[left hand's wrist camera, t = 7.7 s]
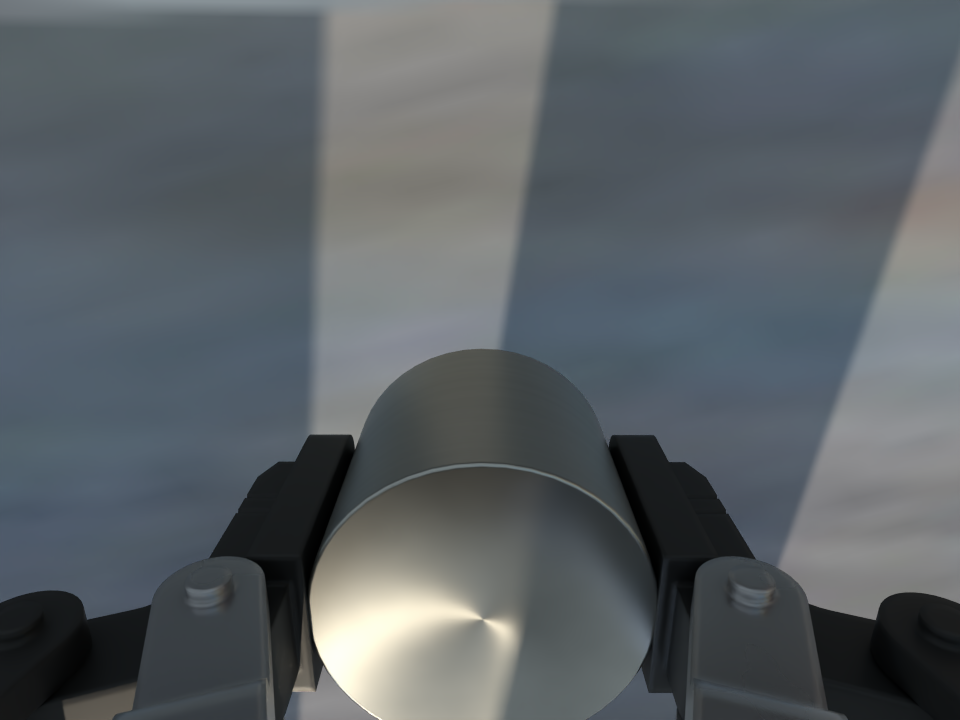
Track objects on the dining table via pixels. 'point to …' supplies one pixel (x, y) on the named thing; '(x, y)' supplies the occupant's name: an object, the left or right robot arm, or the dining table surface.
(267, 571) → the left robot arm
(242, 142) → the dining table surface
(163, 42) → the dining table surface
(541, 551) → the tin
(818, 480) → the dining table surface
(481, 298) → the dining table surface
